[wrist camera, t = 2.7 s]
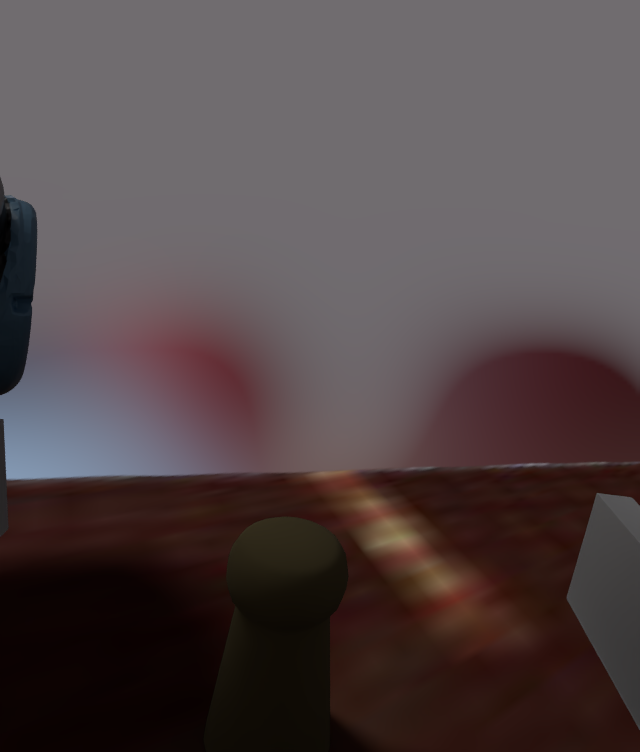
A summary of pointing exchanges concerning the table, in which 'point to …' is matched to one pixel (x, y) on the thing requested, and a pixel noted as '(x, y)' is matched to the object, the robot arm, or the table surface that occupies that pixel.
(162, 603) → the table surface
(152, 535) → the table surface
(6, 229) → the robot arm
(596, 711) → the table surface
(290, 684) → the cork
